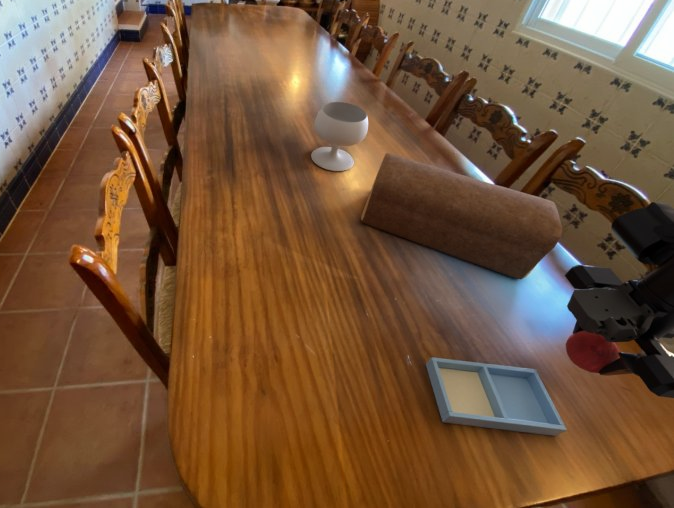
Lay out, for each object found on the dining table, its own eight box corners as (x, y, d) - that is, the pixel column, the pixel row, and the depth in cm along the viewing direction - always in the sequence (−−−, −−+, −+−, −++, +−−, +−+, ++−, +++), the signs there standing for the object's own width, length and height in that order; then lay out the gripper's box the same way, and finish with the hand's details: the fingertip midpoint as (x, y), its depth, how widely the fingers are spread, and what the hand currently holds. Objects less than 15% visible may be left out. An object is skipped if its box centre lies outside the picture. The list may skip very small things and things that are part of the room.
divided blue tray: (556, 436, 51) (567, 430, 49) (442, 422, 51) (450, 415, 50) (526, 376, 57) (535, 369, 56) (425, 364, 58) (431, 357, 56)
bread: (370, 191, 92) (388, 143, 83) (518, 240, 82) (557, 192, 73) (358, 223, 82) (376, 174, 73) (523, 284, 72) (569, 235, 63)
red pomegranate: (606, 382, 54) (648, 357, 49) (570, 380, 54) (607, 355, 49) (580, 346, 59) (615, 319, 54) (546, 344, 59) (578, 317, 54)
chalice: (336, 180, 95) (351, 130, 85) (297, 156, 102) (306, 108, 93) (366, 162, 102) (382, 114, 93) (327, 141, 110) (339, 95, 100)
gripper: (563, 233, 52) (506, 296, 62) (667, 358, 38) (572, 413, 48) (641, 241, 52) (571, 303, 62) (775, 370, 38) (656, 424, 47)
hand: (588, 353), depth 55 cm, fingers closed on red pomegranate, 6 cm apart
